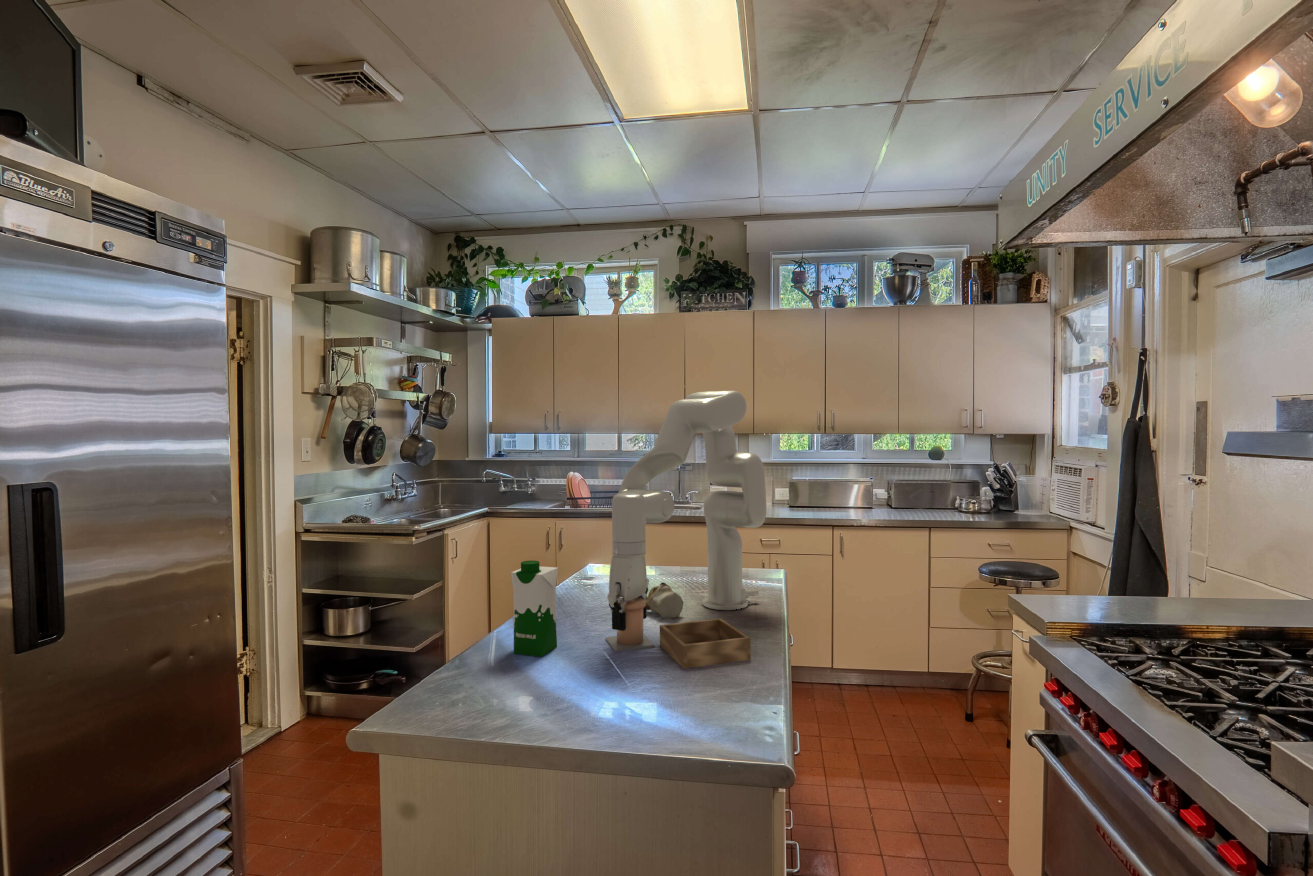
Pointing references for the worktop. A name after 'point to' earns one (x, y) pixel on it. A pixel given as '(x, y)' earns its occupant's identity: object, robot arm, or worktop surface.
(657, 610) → the ceramic sculpture
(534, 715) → the worktop surface
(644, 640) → the slate tile
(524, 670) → the worktop surface
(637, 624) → the terracotta pot
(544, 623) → the milk carton
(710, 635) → the open wooden box
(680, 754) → the worktop surface
